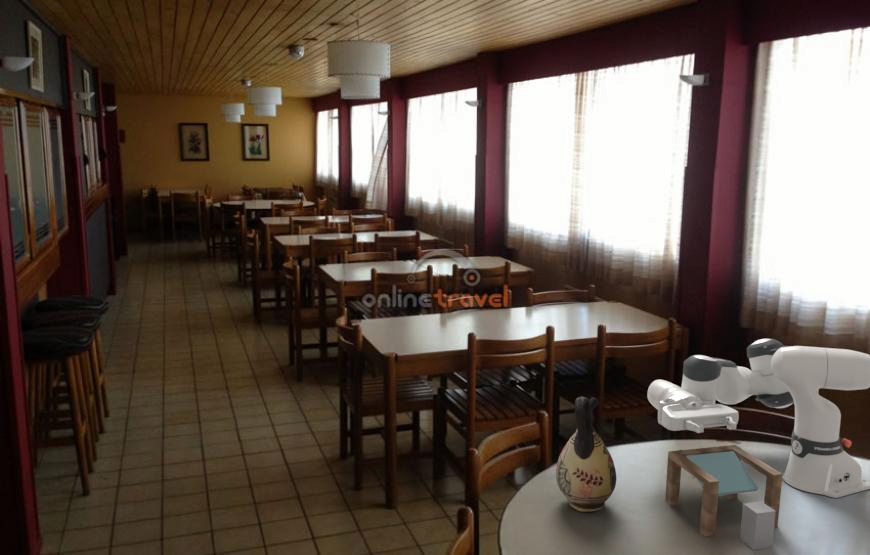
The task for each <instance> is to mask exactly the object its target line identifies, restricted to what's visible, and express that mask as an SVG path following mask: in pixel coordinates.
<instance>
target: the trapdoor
mask: <svg viewBox="0 0 870 555" xmlns="http://www.w3.org/2000/svg"><path fill="white" fill-rule="evenodd" d="M686 458H688V459H689V460H691V461H692V462H693V463H695V464H696V465H698V466H699V467H700V468H702V469H703V470H704V471H706V472H707V473H709V474H710V475H711V476H713V477H714V478H716V479H717V480H718V481H719V491H718V497H719V496H724V495H728V494H736V493H738V494H743V493H753V492H758V491H759V487H758V485H757V484H756V482H755V480H754V479H753V478H752V477H751V475H750V474H749V472H748V470H747V469H746V468H745V466H744V465H743V464H742V462H741V460H739V459H738V457H737V456H736V454H735V453H734V451H730V452H720V453H710V454H700V455H690V456H686ZM696 480H697V481H698V484H699V485H700V486H701V488H702V489H703V483H702V482H701V481H699V480H698V479H697V478H696Z"/></svg>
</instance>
